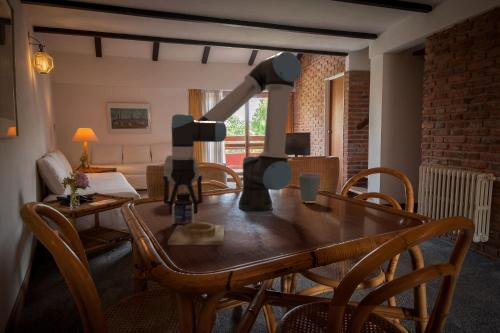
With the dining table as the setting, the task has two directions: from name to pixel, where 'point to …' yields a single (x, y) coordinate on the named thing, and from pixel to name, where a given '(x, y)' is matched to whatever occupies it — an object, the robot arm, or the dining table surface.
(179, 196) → the pill bottle
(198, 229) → the square socket plate
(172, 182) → the planter
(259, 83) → the robot arm
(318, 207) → the dining table surface
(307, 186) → the disposable coffee cup
